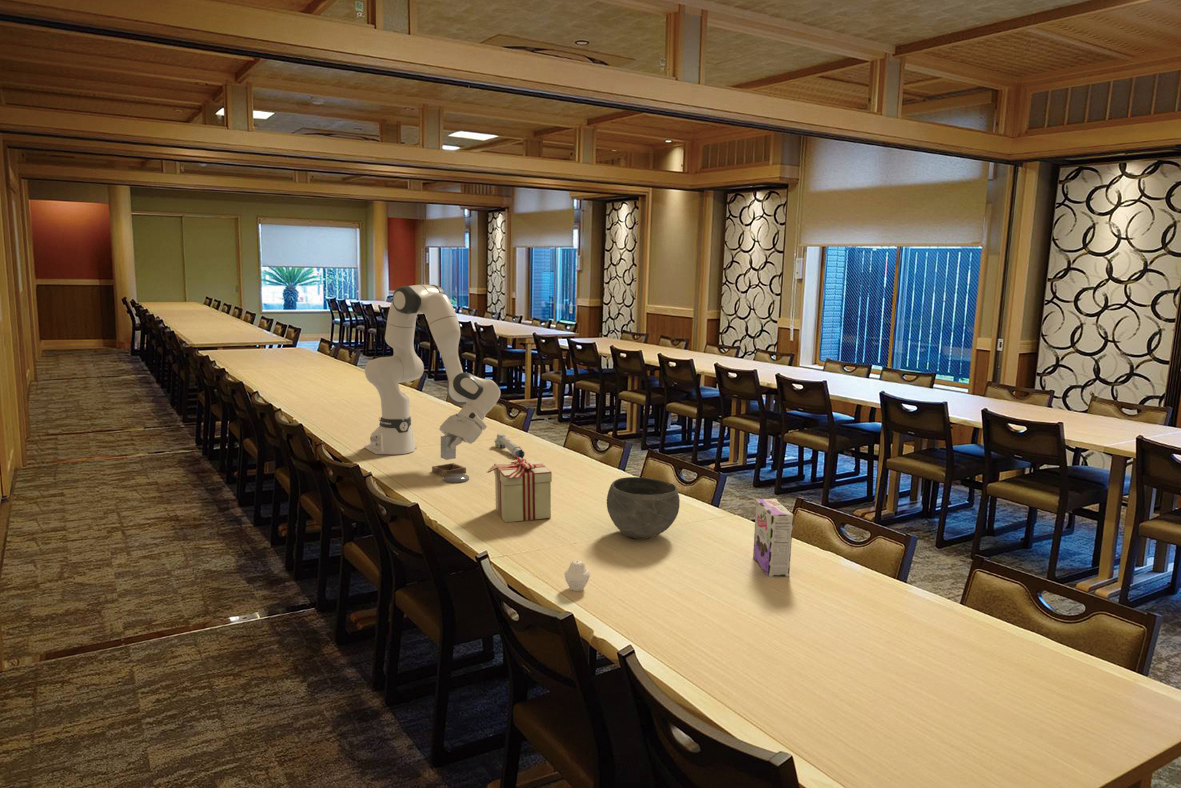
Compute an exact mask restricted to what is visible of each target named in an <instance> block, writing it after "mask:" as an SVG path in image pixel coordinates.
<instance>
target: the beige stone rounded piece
mask: <svg viewBox="0 0 1181 788" xmlns="http://www.w3.org/2000/svg"><path fill="white" fill-rule="evenodd" d="M585 565H586V564H585V563H584V562H583V561H581V560H574V561H572V562H571V563H570V564H569V566H568V568H567V569H566V570H565V571H564V579H565V582H566V583H567V586H568V587H569V589H570V591H573V592H582V591H583V590H585V587H586V586H587V584H588V582H589V580H590V578H591V574H590V571H589V570H588V569H587V568H586V566H585Z"/></svg>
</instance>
